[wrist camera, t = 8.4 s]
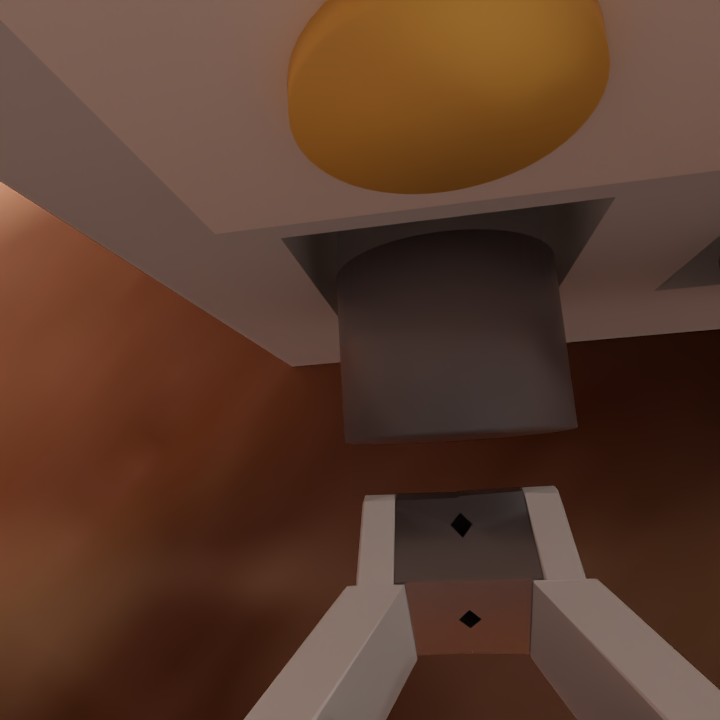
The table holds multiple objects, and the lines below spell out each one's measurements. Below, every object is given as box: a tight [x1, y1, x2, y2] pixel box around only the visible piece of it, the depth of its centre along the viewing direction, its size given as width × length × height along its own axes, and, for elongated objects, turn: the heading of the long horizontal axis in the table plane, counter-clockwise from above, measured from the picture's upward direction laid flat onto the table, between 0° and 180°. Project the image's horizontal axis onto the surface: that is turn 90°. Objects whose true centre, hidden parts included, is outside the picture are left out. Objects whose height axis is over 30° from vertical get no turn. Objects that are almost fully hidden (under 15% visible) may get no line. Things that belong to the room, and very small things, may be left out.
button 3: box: [336, 229, 578, 445], centre depth 10 cm, size 3×4×4 cm
